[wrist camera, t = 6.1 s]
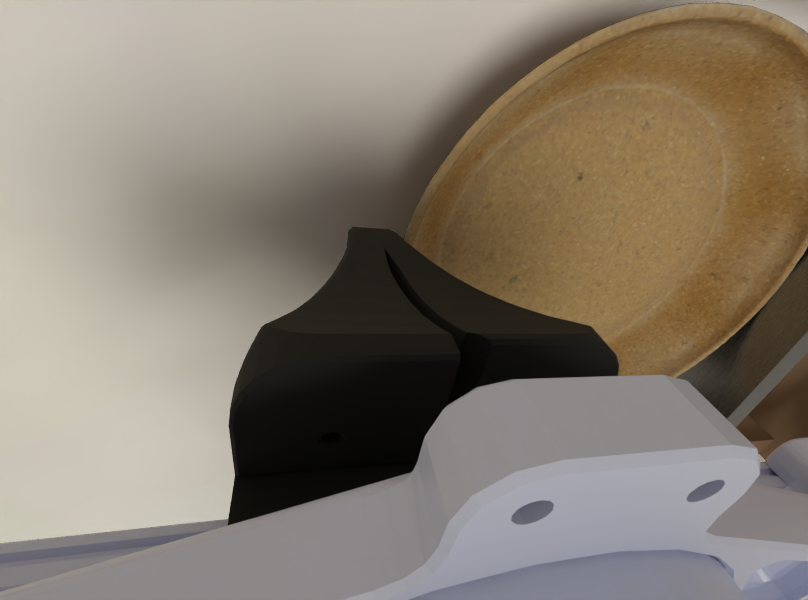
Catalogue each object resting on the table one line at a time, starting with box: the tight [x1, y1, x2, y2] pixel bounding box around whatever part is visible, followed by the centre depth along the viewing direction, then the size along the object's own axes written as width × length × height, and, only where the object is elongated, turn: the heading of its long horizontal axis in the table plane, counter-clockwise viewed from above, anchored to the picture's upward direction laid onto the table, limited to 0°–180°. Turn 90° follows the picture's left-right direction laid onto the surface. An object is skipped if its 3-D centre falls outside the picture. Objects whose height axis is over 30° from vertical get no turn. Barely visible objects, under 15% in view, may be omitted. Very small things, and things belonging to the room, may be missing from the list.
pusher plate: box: [676, 247, 808, 428], centre depth 15 cm, size 16×1×4 cm, turn 170°
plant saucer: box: [404, 3, 808, 378], centre depth 14 cm, size 15×15×3 cm
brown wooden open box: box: [736, 353, 808, 460], centre depth 15 cm, size 19×16×4 cm
